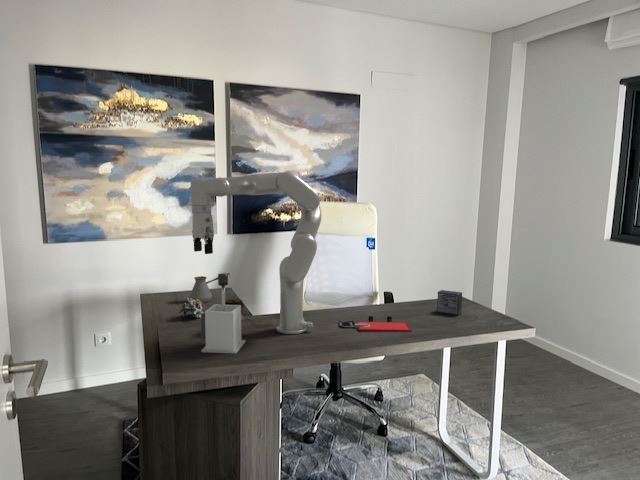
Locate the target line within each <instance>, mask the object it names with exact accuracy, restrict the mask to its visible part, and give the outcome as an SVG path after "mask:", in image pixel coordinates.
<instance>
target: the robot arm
mask: <svg viewBox="0 0 640 480" xmlns="http://www.w3.org/2000/svg"><path fill="white" fill-rule="evenodd" d="M273 194H274V195H275V194H285V195H286V196H287V197H288V198H289V199H291V200H292V201H293V202H295V203H296V205H297V206H298V208H299V209H300V214H301V215H300V219H299V222H298V225H297V227H296V229H295V232H294V234H293V237H292V238H291V241H290V249H291V251H290V254H289V255H288V256H285V257H284V258H283V259H282V260H281V261H280V264H279V268H278V269H279V286H280V287H279V291H280V292H279V293H280V294H279V295H280V296H279V297H280V298H279V299H280V300H279V307H280V308H279V309H280V311H279V314H280V315H279V317H280V319H279V321H280V323H279V325H278V326H276V332H278V333H281V334H283V335H297V334H298V335H299V334H301V333H304V332H306V331H307V328H313V327H314V322H311V321H305V318H304V317H303V315H304V311H303V309H304V302H303V301H304V299H303V298H304V296H303V295H304V283H303V281H304V279H305V278H306V277H307V275H308V273H309V271H310V269H311V266H312V264H313V261H314V258H315V257H316V253H317V250H318V249H317V248H318V243H317V241H316V236H317V234H318V232H319V227H320V226H321V222H322V210H321V206H320V204H321V197H320V195H319V193H318V192H317V190H315V189H313V188H312V187H311V186H310V185H309V184H308V183H306V182H305V181H304V180H302V179H301V178H300V177H299V176H298V175H297V174H295V173H294V172H291V171H281V172H265V173H262V172H261V173H253V174H247V175H243V176H241V175H240V176H229V177H215V178H206V177H204V178H203V177H201V178H199V177H197V178H195V177H194V178H192V179H191V180H190V198H191V199H190V200H191V203H190V204H191V214H192V229H191V234H192V240H193V251H194V252H202V251H203V247H204V254H205V255H210V254H213V253H214V250H213V248H214V246H213V244H214V242H213V241H214V237H215V232H214V231H215V229H214V222H213V221H214V220H213V217H212V216H213V215H212V199H211V198H212V196H213V197H217V198H222V197H228V196H240V195H243V196H244V195H246V196H247V195H248V196H261V195H273ZM202 240H204V244H203V243H202ZM202 245H204V246H202Z"/></svg>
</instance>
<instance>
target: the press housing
mask: <svg viewBox="0 0 640 480" xmlns="http://www.w3.org/2000/svg"><path fill="white" fill-rule="evenodd" d="M241 330H242V323H241V305H225V312H223V311H222V304H213V305H211V306H210V307H209V308H208V309H206V310H204V312H203V313H202V314H201V318H200V335H201V336H200V337H201V339H205V346H204V347H203V348H202V349H201V353H210V354H211V353H213V354H234V355H235V354H237V353H238V352H239V351H240V349H241V348H242V347H243V346H244V344H245V343H246V339H242V331H241Z"/></svg>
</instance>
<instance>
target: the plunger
mask: <svg viewBox="0 0 640 480" xmlns="http://www.w3.org/2000/svg"><path fill="white" fill-rule="evenodd" d="M217 277H218V280H217V281H218V282H217V284H218V286H219V287H221V305H222V311H223V312H225V301H226V286H228V285H229V275H228V274H227V273H226V272H224V273H218V274H217Z"/></svg>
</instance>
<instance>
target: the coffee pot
mask: <svg viewBox="0 0 640 480" xmlns="http://www.w3.org/2000/svg"><path fill="white" fill-rule="evenodd" d="M227 274H228V277H231V274H230V272H228V273H227ZM193 278H194V280H195V282H194V284H193V287H192V289H191V292H190V295H189V299H190V298H192V299H193V300H195V301H196V300H197V299H198V300H199V299H200V301H201V302H202V303H203V304H205V302H206V303H209V301H210V300H211V299H212V297H213V295H212V292H211V290H210V288H209V286H208V284H210V283H212V282H214V281H218V276H217V277H216V278H213V279H211V280H209V281H206V279H207V278H208V277H207V276H201V275H200V276H195V277H193Z"/></svg>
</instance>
